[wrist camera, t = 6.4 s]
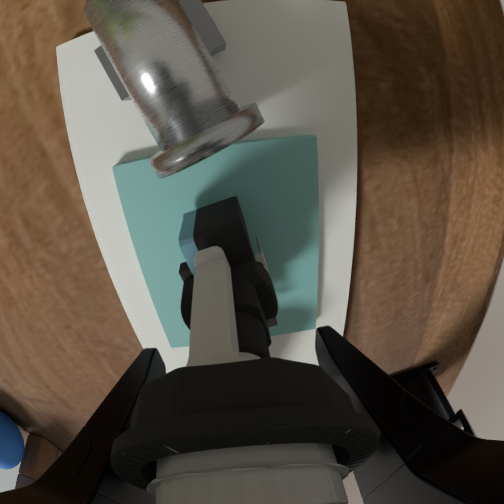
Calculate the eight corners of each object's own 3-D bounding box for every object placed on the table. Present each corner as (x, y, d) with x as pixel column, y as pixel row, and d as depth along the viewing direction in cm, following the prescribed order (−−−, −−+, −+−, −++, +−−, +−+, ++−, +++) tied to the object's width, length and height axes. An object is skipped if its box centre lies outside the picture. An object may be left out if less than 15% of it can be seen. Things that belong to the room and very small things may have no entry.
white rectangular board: (338, 6, 9) (351, -2, 8) (333, 366, 20) (338, 381, 19) (64, 48, 8) (49, 45, 7) (170, 388, 19) (169, 403, 18)
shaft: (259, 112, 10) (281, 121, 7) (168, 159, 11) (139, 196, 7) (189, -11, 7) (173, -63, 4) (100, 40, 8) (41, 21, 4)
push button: (304, 303, 14) (377, 504, 6) (202, 334, 14) (208, 536, 6) (270, 173, 11) (424, 445, 2) (140, 219, 11) (41, 486, 2)
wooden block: (43, 436, 25) (24, 544, 10) (86, 466, 31) (77, 558, 15) (27, 433, 25) (7, 534, 10) (70, 463, 31) (59, 551, 15)
